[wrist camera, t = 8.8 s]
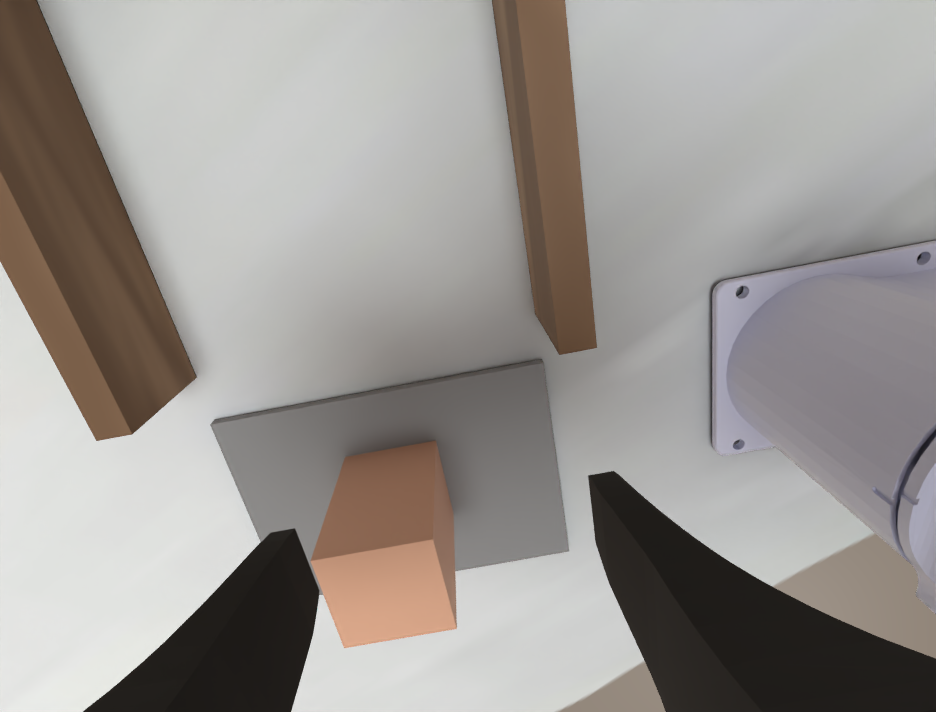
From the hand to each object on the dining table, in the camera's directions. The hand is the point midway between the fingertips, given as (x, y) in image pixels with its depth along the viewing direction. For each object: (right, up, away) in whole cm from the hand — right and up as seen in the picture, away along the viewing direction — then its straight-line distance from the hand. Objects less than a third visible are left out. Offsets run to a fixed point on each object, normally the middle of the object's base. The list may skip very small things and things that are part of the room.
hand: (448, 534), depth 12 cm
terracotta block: (-3, -1, +10) cm, 11 cm away
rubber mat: (-2, -2, +11) cm, 11 cm away
